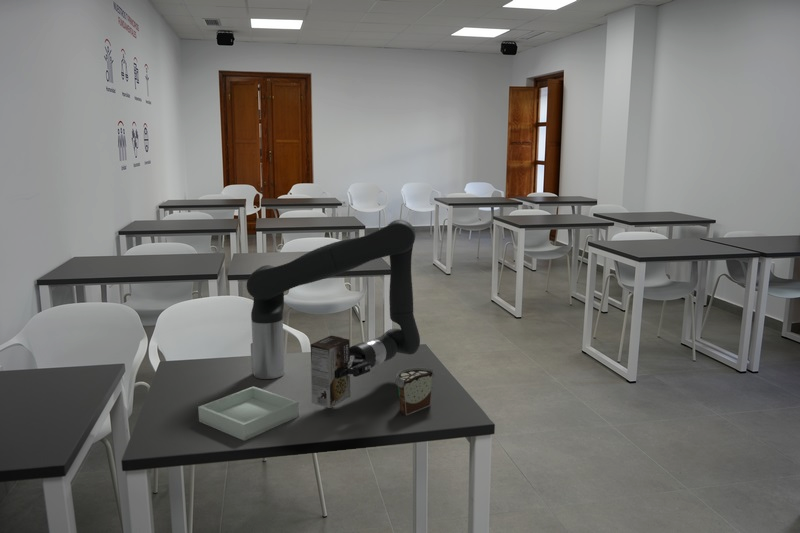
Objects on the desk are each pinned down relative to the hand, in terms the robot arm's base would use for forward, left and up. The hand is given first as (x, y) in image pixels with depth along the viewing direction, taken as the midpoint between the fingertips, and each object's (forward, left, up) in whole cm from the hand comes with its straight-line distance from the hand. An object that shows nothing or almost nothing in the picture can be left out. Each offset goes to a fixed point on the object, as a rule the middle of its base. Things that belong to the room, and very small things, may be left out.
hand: (325, 371), depth 165 cm
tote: (-13, -15, -11) cm, 23 cm away
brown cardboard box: (0, +2, -9) cm, 9 cm away
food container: (+15, +16, -12) cm, 25 cm away
